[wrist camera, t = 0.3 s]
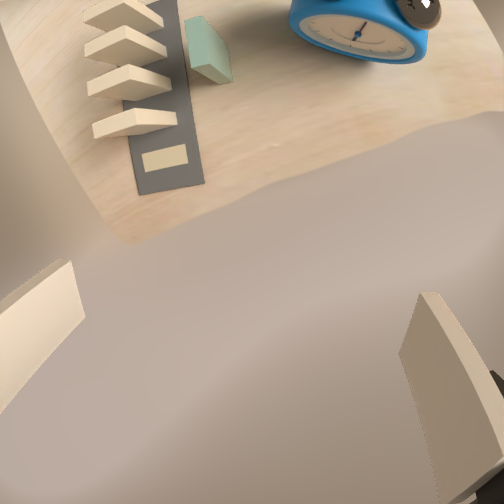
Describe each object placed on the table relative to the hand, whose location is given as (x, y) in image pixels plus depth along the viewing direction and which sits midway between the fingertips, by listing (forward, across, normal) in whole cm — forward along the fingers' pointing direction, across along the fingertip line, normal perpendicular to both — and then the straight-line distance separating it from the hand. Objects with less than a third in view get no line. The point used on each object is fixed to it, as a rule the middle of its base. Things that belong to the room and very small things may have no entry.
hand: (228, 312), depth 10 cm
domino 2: (+26, -16, +16) cm, 34 cm away
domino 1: (+26, -17, +20) cm, 37 cm away
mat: (+26, -15, +12) cm, 32 cm away
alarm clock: (+26, +8, +19) cm, 33 cm away
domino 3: (+26, -15, +12) cm, 32 cm away
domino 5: (+26, -6, +14) cm, 30 cm away
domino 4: (+26, -14, +7) cm, 30 cm away
